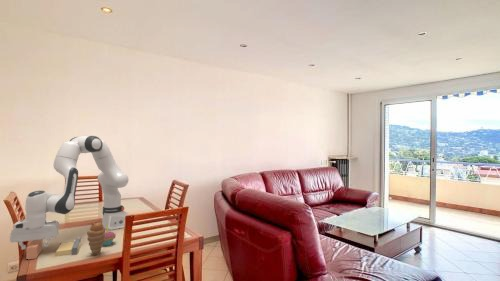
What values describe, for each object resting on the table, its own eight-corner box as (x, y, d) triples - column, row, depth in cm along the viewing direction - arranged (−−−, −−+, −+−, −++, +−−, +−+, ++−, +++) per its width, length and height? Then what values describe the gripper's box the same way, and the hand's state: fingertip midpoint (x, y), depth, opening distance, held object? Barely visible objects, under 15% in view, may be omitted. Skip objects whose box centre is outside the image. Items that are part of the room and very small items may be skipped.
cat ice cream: (102, 249, 150) (103, 218, 150) (107, 254, 145) (108, 221, 145) (84, 254, 143) (85, 221, 143) (89, 259, 138) (90, 224, 138)
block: (42, 249, 147) (42, 238, 147) (36, 258, 136) (36, 246, 136) (33, 250, 146) (33, 239, 145) (26, 259, 135) (26, 247, 135)
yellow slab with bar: (81, 244, 156) (81, 237, 156) (77, 254, 143) (77, 247, 143) (60, 246, 152) (60, 240, 152) (54, 257, 139) (55, 250, 139)
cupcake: (97, 243, 158) (98, 223, 158) (112, 240, 164) (113, 221, 164) (101, 248, 152) (102, 227, 152) (117, 244, 158) (118, 224, 158)
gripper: (60, 218, 148) (59, 243, 148) (13, 222, 139) (12, 248, 139) (58, 221, 143) (57, 247, 143) (8, 226, 134) (8, 253, 134)
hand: (34, 247), depth 141 cm, fingers open, 8 cm apart
